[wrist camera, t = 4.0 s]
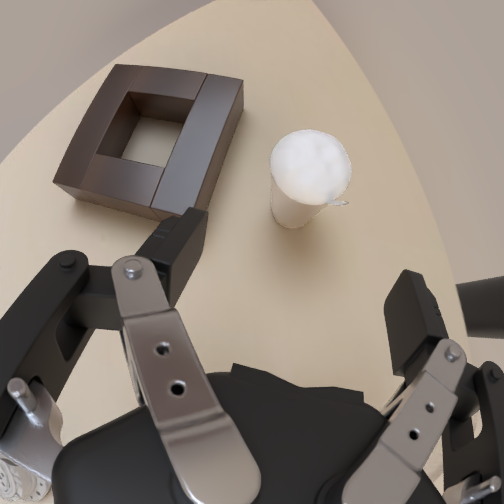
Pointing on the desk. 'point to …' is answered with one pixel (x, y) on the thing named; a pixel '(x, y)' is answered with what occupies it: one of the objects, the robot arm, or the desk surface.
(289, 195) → the milkshake
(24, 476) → the mechanical component
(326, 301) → the desk surface
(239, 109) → the socket block
